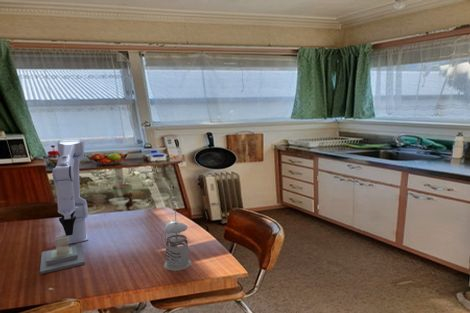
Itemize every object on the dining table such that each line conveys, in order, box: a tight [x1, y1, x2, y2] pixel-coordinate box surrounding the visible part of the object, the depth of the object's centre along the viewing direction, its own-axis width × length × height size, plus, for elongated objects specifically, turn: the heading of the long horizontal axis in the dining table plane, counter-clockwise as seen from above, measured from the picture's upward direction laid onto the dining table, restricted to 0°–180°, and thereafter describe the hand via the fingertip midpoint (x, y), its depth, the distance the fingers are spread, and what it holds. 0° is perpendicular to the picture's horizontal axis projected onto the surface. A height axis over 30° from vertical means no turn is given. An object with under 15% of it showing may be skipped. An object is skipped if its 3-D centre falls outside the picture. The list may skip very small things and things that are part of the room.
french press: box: [160, 196, 192, 272], centre depth 113 cm, size 10×12×25 cm
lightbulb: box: [165, 220, 181, 244], centre depth 128 cm, size 6×6×11 cm
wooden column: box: [55, 234, 70, 255], centre depth 119 cm, size 4×4×6 cm
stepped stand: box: [39, 243, 86, 275], centre depth 120 cm, size 18×14×3 cm
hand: (69, 231), depth 121 cm, fingers open, 7 cm apart
